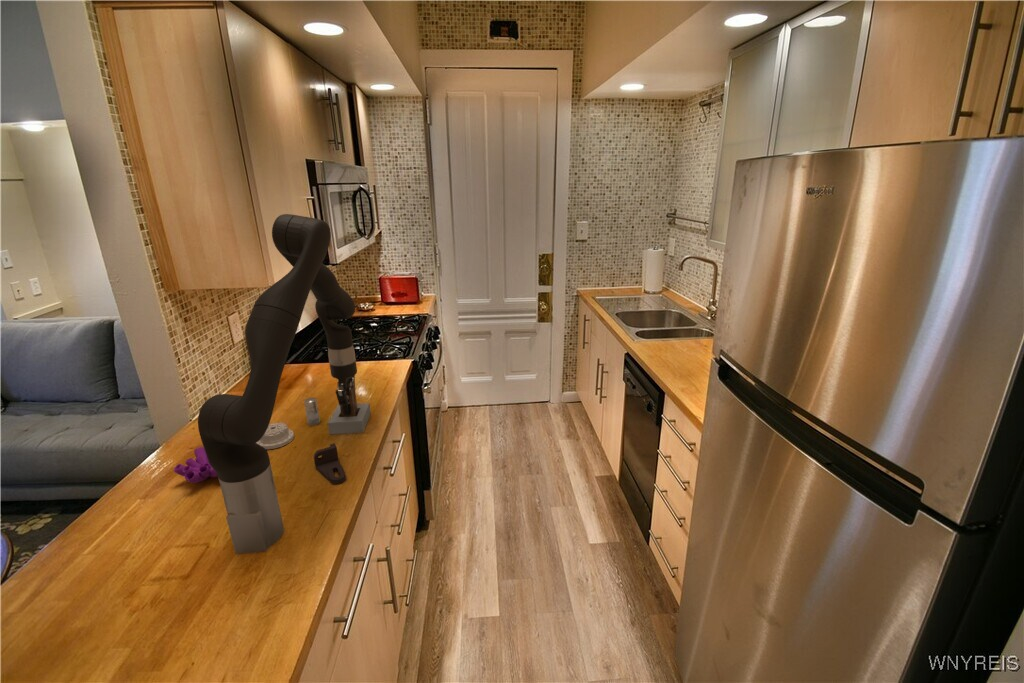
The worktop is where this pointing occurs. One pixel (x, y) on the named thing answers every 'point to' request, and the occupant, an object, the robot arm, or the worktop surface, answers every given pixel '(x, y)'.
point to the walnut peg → (351, 404)
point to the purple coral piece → (196, 467)
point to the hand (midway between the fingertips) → (349, 410)
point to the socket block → (349, 420)
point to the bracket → (329, 464)
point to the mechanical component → (276, 436)
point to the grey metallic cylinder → (312, 411)
